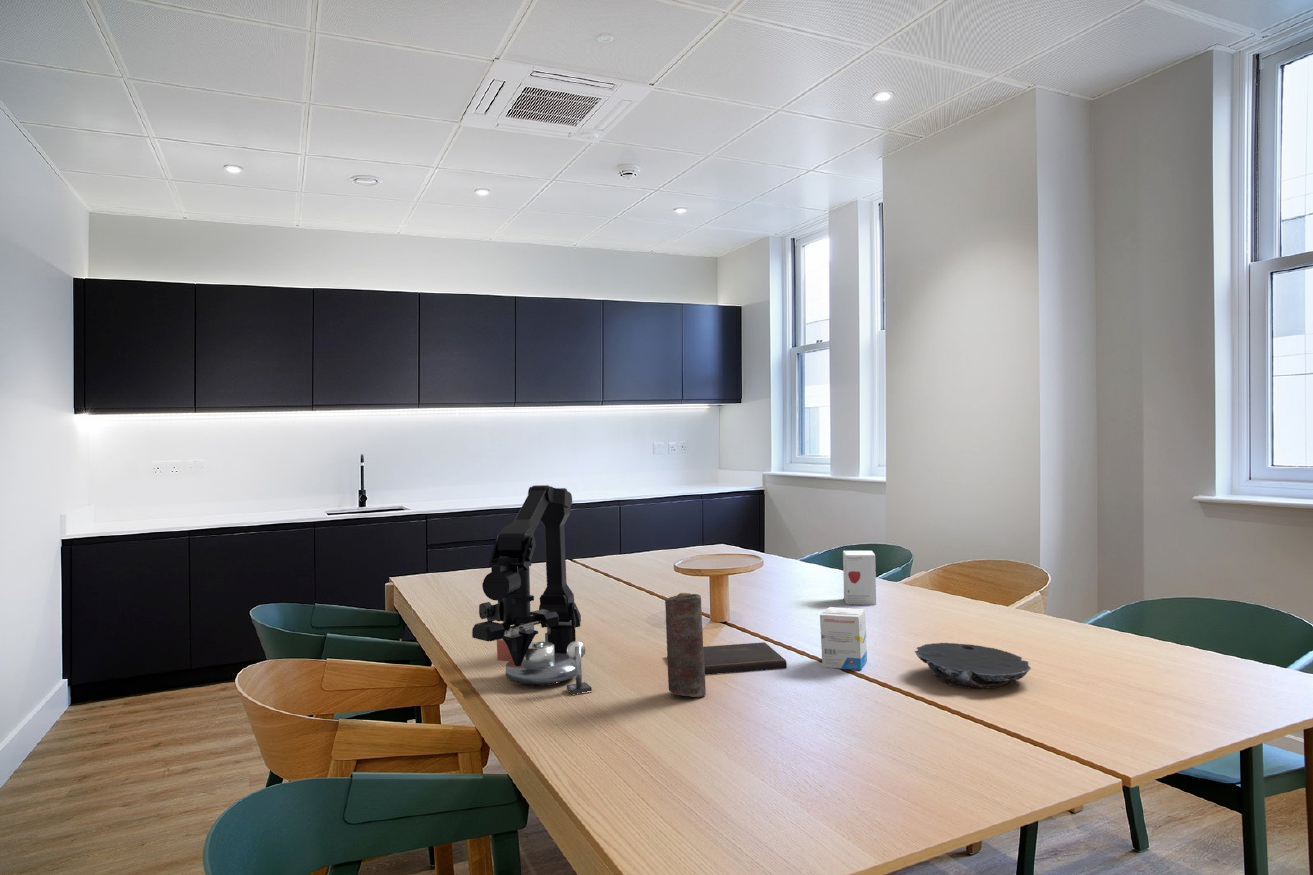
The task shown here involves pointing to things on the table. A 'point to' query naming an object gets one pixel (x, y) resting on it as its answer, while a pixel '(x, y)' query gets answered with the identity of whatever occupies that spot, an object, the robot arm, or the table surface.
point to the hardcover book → (741, 658)
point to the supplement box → (859, 577)
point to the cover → (539, 656)
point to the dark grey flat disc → (972, 665)
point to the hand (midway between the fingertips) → (517, 665)
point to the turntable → (539, 676)
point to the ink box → (843, 638)
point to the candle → (685, 645)
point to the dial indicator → (577, 667)
